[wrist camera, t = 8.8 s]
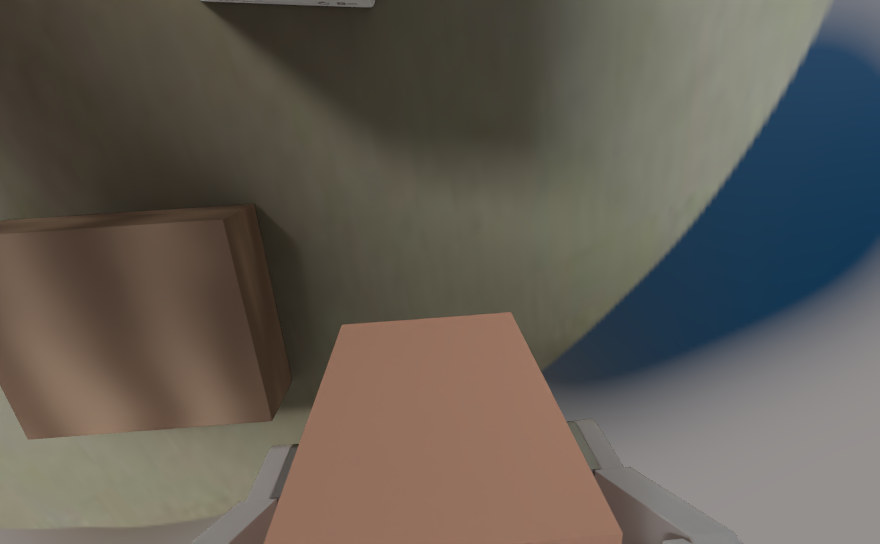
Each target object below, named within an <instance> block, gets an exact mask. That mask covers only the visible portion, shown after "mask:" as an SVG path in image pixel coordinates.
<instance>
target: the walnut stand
mask: <svg viewBox="0 0 880 544" xmlns="http://www.w3.org/2000/svg"><path fill="white" fill-rule="evenodd" d="M291 382H292V377H291V373H290V368H289V363H288V359H287V354H286V349H285V345H284V340H283V335H282V331H281V326H280V321H279V317H278V312H277V307H276V303H275V298H274V294H273V289H272V284H271V280H270V275H269V270H268V266H267V261H266V256H265V252H264V247H263V242H262V238H261V233H260V228H259V224H258V219H257V215H256V210H255V205H254V204H245V205H230V206H215V207H199V208H184V209H168V210H153V211H138V212H122V213H107V214H92V215H76V216H61V217H46V218H30V219H15V220H4V221H0V385H1V387H2V389H3V391H4V393H5V395H6V397H7V399H8V401H9V403H10V405H11V407H12V409H13V411H14V413H15V415H16V417H17V419H18V421H19V423H20V425H21V427H22V429H23V431H24V433H25V435H26V437H27V439H42V438H55V437H68V436H81V435H94V434H107V433H120V432H133V431H147V430H160V429H173V428H186V427H199V426H212V425H225V424H239V423H252V422H265V421H272V420H273V418H274V416H275V414H276V412H277V410H278V408H279V406H280V404H281V402H282V400H283V398H284V396H285V394H286V392H287V390H288V388H289V386H290V384H291Z"/></svg>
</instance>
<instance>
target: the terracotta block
mask: <svg viewBox="0 0 880 544" xmlns="http://www.w3.org/2000/svg"><path fill="white" fill-rule="evenodd" d="M622 536H623V533H622V531H621V529H620V527H619V525H618V523H617V521H616V519H615V517H614V515H613V513H612V511H611V509H610V507H609V505H608V503H607V501H606V499H605V497H604V495H603V493H602V491H601V489H600V487H599V485H598V483H597V481H596V479H595V477H594V475H593V473H592V471H591V469H590V467H589V465H588V463H587V461H586V459H585V458H584V456H583V454H582V452H581V450H580V448H579V446H578V444H577V442H576V440H575V438H574V436H573V434H572V432H571V430H570V428H569V426H568V424H567V422H566V420H565V418H564V416H563V414H562V412H561V410H560V408H559V406H558V404H557V402H556V400H555V399H554V396H553V394H552V392H551V391H550V388H549V387H548V384H547V382H546V381H545V379H544V377H543V375H542V373H541V371H540V369H539V367H538V365H537V363H536V361H535V359H534V357H533V355H532V353H531V351H530V349H529V347H528V345H527V343H526V341H525V339H524V337H523V335H522V333H521V331H520V329H519V327H518V325H517V323H516V321H515V319H514V317H513V315H512V313H511V312H507V313H494V314H480V315H467V316H453V317H439V318H426V319H412V320H399V321H385V322H372V323H358V324H345V325H342V326H341V328H340V331H339V334H338V337H337V340H336V342H335V345H334V348H333V351H332V354H331V356H330V359H329V362H328V365H327V368H326V370H325V373H324V376H323V379H322V381H321V384H320V387H319V390H318V393H317V395H316V398H315V401H314V404H313V407H312V409H311V412H310V415H309V418H308V421H307V423H306V426H305V429H304V432H303V435H302V437H301V440H300V443H299V446H298V448H297V451H296V454H295V457H294V460H293V462H292V465H291V468H290V471H289V474H288V476H287V479H286V482H285V485H284V488H283V490H282V493H281V496H280V499H279V502H278V504H277V507H276V510H275V513H274V515H273V518H272V521H271V524H270V527H269V529H268V532H267V535H266V538H265V541H264V543H263V544H621V543H622Z"/></svg>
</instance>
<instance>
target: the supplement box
mask: <svg viewBox="0 0 880 544" xmlns="http://www.w3.org/2000/svg"><path fill="white" fill-rule="evenodd" d="M200 1H208V2H235V3H260V4H287V5H314V6H341V7H373V6H374V3H375V0H200Z"/></svg>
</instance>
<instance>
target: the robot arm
mask: <svg viewBox="0 0 880 544" xmlns="http://www.w3.org/2000/svg"><path fill="white" fill-rule="evenodd" d="M567 424H568V426H569V428H570V430H571V432H572V434H573V436H574V438H575V440H576V442H577V444H578V446H579V448H580V450H581V452H582V454H583V456H584V458H585V459H586V461H587V463H588V465H589V467H590V469H591V471H592V473H593V475H594V477H595V479H596V481H597V483H598V485H599V487H600V489H601V491H602V493H603V495H604V497H605V499H606V501H607V503H608V505H609V507H610V509H611V511H612V513H613V515H614V517H615V519H616V521H617V523H618V525H619V527H620V529H621V531H622V533H623V536H622V543H621V544H743V543H742V542H741V540H740V539H739V538H738V537H737V535H736V534H735V533H734V532H733V531H731V530H729V529H728V528H726V527H725V526H723V525H722V524H720V523H718V522H717V521H715V520H714V519H712V518H710V517H709V516H707V515H706V514H704V513H703V512H701V511H699V510H698V509H696V508H695V507H693V506H691V505H690V504H688V503H687V502H685V501H683V500H682V499H680V498H679V497H677V496H675V495H674V494H672V493H671V492H669V491H668V490H666V489H664V488H663V487H661V486H659V485H658V484H656V483H654V482H653V481H652V480H650V479H648V478H647V477H645V476H643V475H642V474H640V473H639V472H637V471H635V470H634V469H632V468H631V467H623V465H622V464H621V462H620V460H619V458H618V457H617V455H616V454H615V452H614V450H613V449H612V447H611V445H610V444H609V442H608V441H607V439H606V437H605V436H604V434H603V432H602V431H601V429H600V428H599V426H598V424H597V423H596V421H594V420H593V419H585V420H575V421H568V422H567ZM298 446H299V444H293V445H277V446H272V447H271V448H270V449H269V450H268V453H267V455H266V457H265V459H264V461H263V464H262V466H261V468H260V470H259V473H258V475H257V477H256V479H255V482H254V484H253V486H252V488H251V490H250V493H249V495H248V497H247V499H246V501H243V502H239V503H237V504H236V505H235V506H234V507H233V508H232V509H230V510H229V511H228V512H227V513H226V514H224V515H223V516H222V517H221V518H220V519H219V520H217V521H216V522H215V523H214V524H213V525H211V526H210V527H209V528H208V529H207V530H206V531H205V532H203V533H202V534H201V535H200V536H199V537H197V538H196V539H195V540H194V541H193V542H191V543H190V544H263V543H264V541H265V538H266V535H267V532H268V529H269V527H270V524H271V521H272V518H273V515H274V513H275V510H276V507H277V504H278V502H279V499H280V496H281V493H282V490H283V488H284V485H285V482H286V479H287V476H288V474H289V471H290V468H291V465H292V462H293V460H294V457H295V454H296V451H297V448H298Z"/></svg>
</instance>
